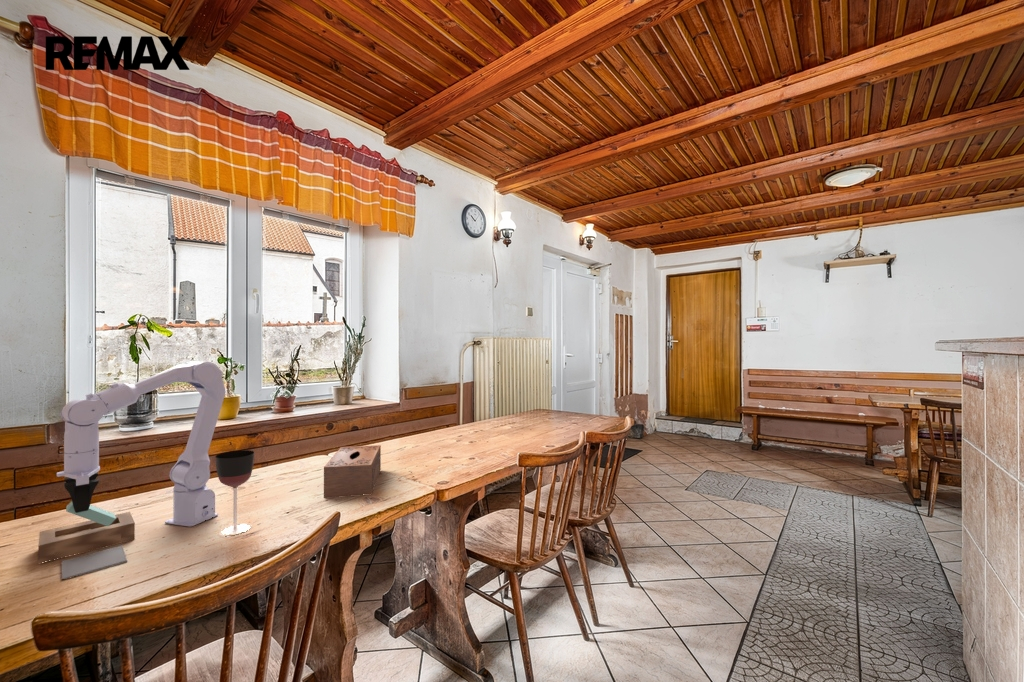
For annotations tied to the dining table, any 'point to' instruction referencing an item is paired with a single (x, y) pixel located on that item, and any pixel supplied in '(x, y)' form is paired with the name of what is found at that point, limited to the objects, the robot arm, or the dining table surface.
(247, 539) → the dining table surface
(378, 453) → the tissue box cover
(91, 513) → the teal block
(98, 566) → the grey mat
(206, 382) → the robot arm
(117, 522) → the walnut frame
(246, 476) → the wineglass
